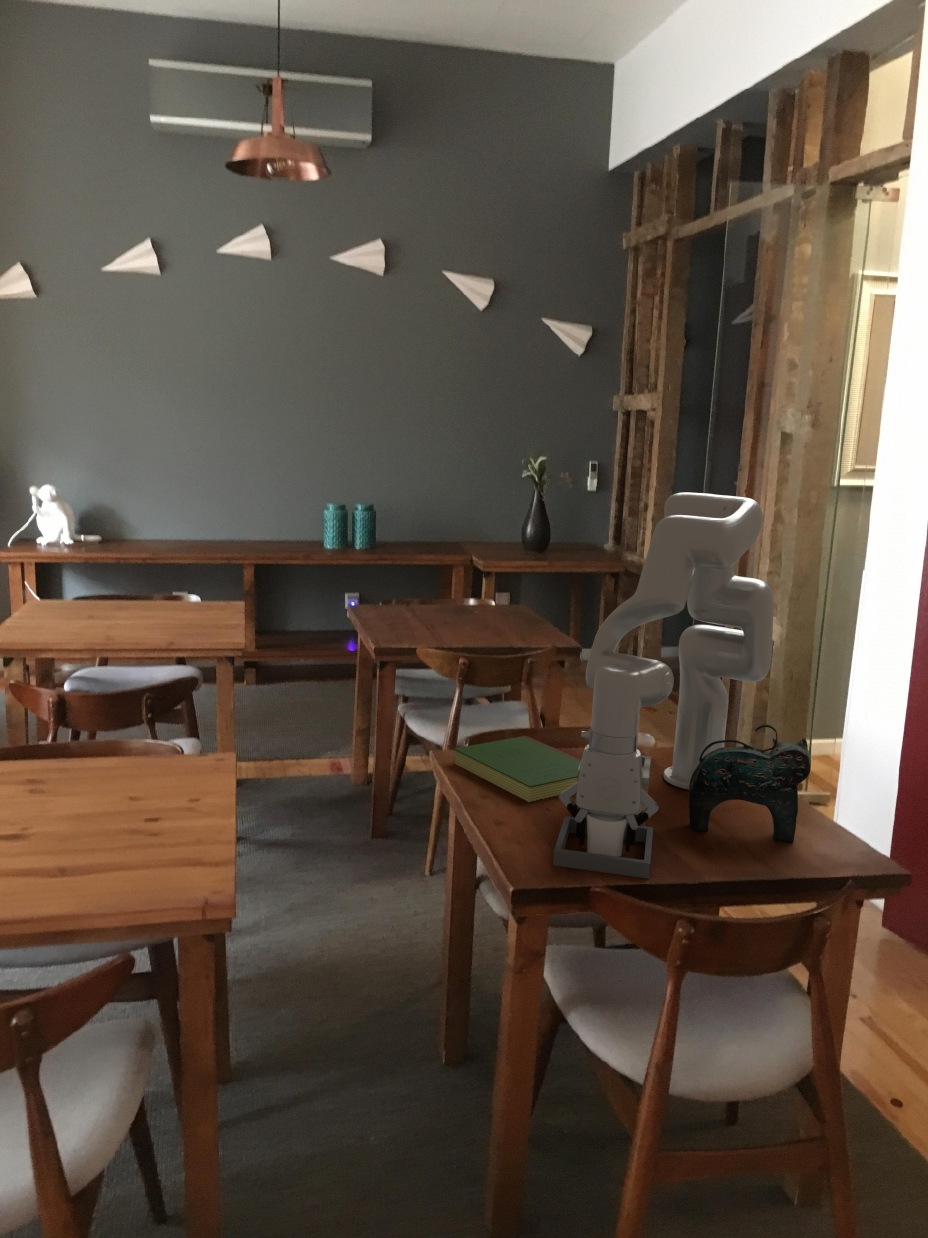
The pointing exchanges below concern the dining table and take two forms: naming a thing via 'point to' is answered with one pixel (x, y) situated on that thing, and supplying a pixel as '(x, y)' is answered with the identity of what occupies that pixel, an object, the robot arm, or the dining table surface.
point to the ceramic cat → (751, 782)
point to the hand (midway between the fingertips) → (604, 845)
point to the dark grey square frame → (603, 861)
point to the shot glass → (605, 833)
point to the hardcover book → (521, 766)
